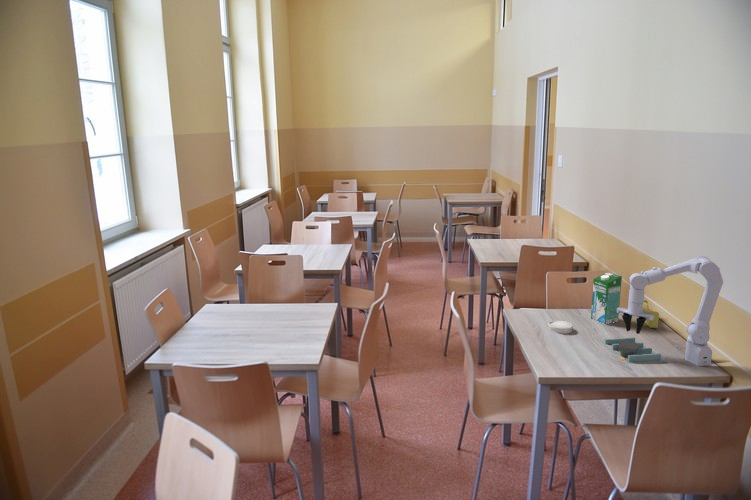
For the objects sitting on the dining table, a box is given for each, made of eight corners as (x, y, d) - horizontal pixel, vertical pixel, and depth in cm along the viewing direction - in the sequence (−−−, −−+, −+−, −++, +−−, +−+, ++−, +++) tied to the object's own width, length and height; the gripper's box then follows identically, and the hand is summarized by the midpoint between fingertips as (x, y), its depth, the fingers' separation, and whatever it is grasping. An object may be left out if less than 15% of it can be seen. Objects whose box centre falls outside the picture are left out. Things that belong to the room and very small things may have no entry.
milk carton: (590, 321, 266) (593, 274, 261) (603, 318, 270) (607, 271, 264) (604, 327, 258) (608, 278, 253) (618, 324, 262) (622, 275, 256)
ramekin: (552, 328, 258) (553, 318, 256) (575, 333, 251) (576, 323, 250) (543, 335, 249) (544, 325, 248) (567, 340, 242) (567, 330, 241)
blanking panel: (638, 343, 224) (620, 340, 228) (636, 349, 218) (618, 346, 221) (638, 347, 225) (620, 344, 228) (636, 354, 218) (617, 351, 222)
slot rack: (666, 362, 218) (667, 354, 217) (625, 365, 216) (626, 357, 215) (636, 343, 238) (636, 336, 237) (598, 345, 236) (599, 338, 235)
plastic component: (657, 329, 253) (659, 310, 251) (641, 329, 255) (642, 309, 253) (645, 316, 272) (647, 297, 270) (630, 315, 274) (632, 297, 272)
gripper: (657, 303, 219) (654, 333, 222) (622, 296, 230) (620, 325, 233) (651, 307, 214) (648, 338, 217) (615, 299, 225) (613, 329, 228)
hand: (633, 331), depth 225 cm, fingers open, 3 cm apart
